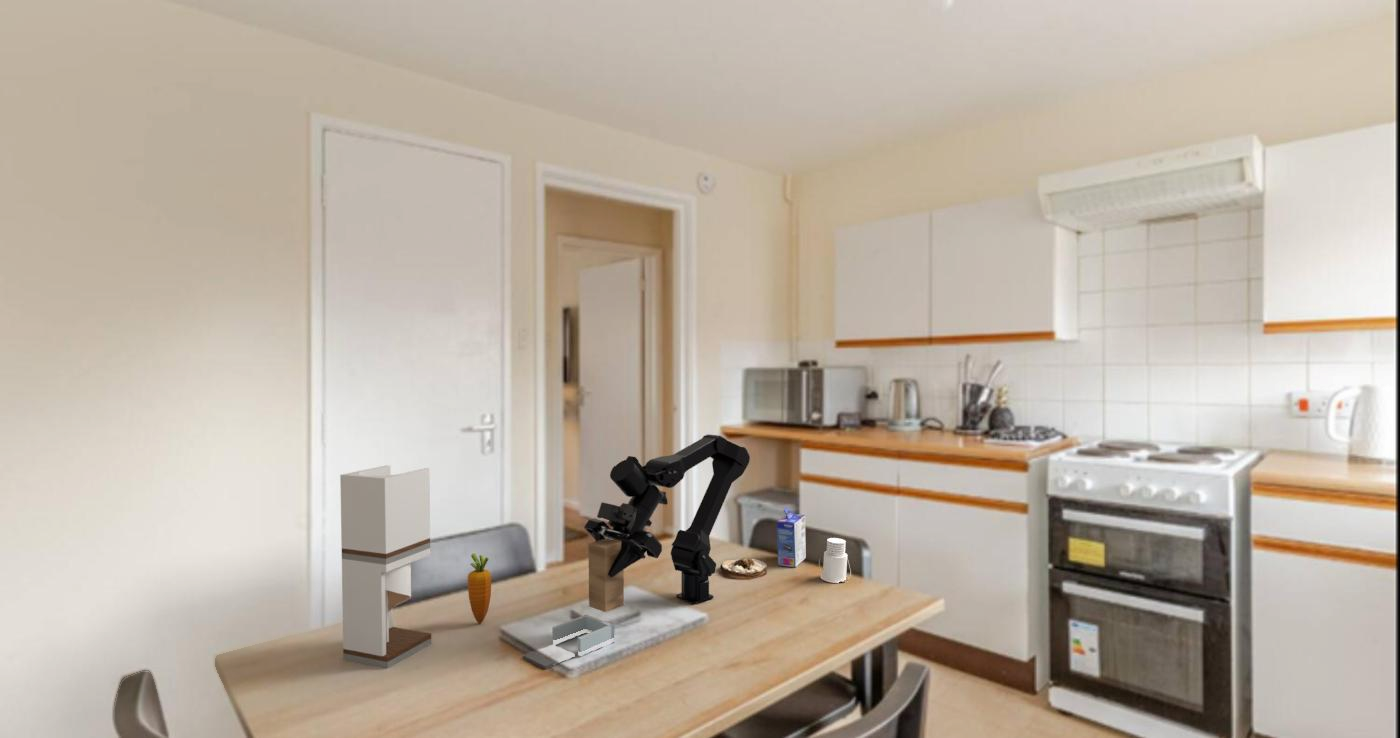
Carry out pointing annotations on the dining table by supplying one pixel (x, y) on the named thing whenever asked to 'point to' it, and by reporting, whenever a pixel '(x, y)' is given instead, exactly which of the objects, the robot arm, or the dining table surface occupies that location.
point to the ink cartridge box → (791, 539)
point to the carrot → (479, 588)
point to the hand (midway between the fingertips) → (601, 573)
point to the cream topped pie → (743, 568)
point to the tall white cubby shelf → (381, 560)
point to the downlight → (835, 561)
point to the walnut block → (605, 576)
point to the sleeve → (599, 635)
